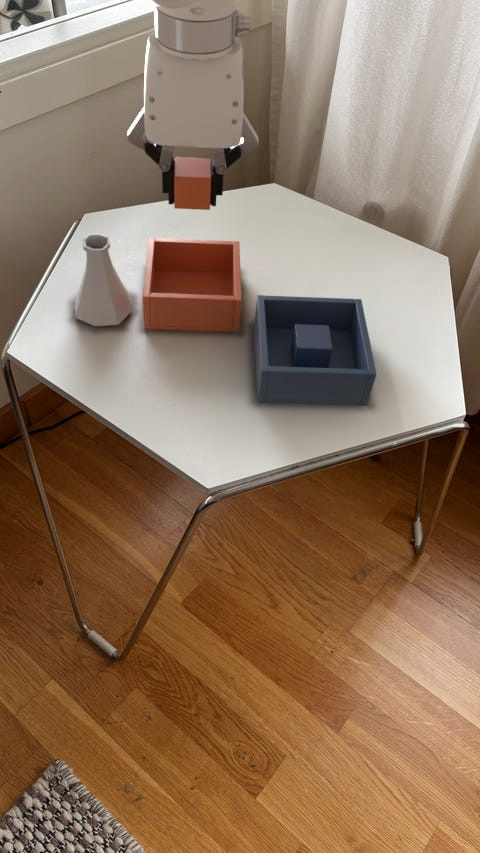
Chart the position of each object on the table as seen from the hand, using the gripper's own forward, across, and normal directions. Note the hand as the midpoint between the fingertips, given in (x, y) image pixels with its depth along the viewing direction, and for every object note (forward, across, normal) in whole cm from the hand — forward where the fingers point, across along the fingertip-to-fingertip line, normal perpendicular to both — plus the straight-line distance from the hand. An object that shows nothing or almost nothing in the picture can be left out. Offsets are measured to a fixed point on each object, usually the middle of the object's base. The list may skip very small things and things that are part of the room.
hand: (192, 197), depth 81 cm
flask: (+14, +11, +4) cm, 18 cm away
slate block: (+13, -14, +12) cm, 23 cm away
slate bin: (+14, -14, +12) cm, 23 cm away
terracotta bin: (+14, 0, +1) cm, 14 cm away
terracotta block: (0, 0, 0) cm, 0 cm away
